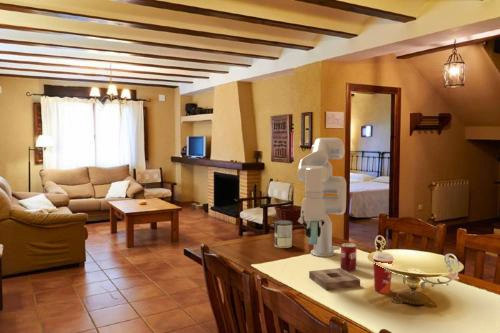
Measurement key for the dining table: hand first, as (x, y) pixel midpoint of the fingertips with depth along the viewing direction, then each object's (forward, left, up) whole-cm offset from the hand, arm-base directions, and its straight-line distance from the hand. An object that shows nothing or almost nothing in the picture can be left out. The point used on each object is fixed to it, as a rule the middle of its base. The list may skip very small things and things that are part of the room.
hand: (312, 236), depth 181 cm
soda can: (-22, -6, -19) cm, 30 cm away
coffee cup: (-21, +22, -19) cm, 36 cm away
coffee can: (-9, -56, -19) cm, 60 cm away
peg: (0, 0, -3) cm, 3 cm away
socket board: (-7, +7, -19) cm, 22 cm away
